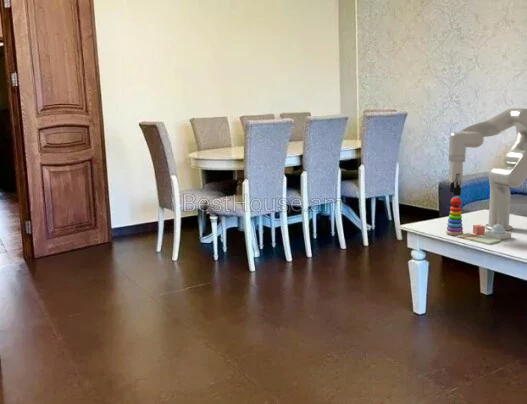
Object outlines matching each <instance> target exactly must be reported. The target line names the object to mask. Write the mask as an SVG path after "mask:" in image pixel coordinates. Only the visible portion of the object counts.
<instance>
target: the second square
mask: <svg viewBox="0 0 527 404" xmlns="http://www.w3.org/2000/svg"><path fill="white" fill-rule="evenodd" d="M501 241H502V240H498V239H493V238H489V237H481V238H477V239H473V241H472V242H475V243H480V244H484V245H489V246H490V245H493V244H497V243H501Z"/></svg>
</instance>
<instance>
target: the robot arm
mask: <svg viewBox="0 0 527 404" xmlns="http://www.w3.org/2000/svg"><path fill="white" fill-rule="evenodd" d="M512 127H515V131H516V139H515V141H514V143H513V144H512V146H511V147H510V148H509V149H508V151H507V152H506V153H505V155H504V157H503V159H502V160H503V161H502V162H503V164H504V165H496V166H494V167H492V168H491V169H490V170H489V173H488V182H489V211H488V223H486V224H485V225H484V226H485V229H487V230H489V231H490V230H491V228H493V226H494V225H495V224H500V225H502V226H503V229H505V231H507V232H508V231H511V230H513V225H511V224H510V214H511V212H510V209H511V190H510V189H511V188H514V189H515V188H519V187H520V186H522V185H523V183H524V182H525V181H526V180H527V108H523V107H522V108H519V107H517V108H514V107H513V108H509V109H506V110H504V111H502V112H500V113H498V114H496V115H495V116H493V117H490V118H489V119H485V120H483V121H480V122H477V123H475V124H472V125H469V126H467V127H465V128H463V129H462V130H459V132H451V133H450V134H449V143H448V144H449V145H448V146H449V147H448V162H449V169H448V181H449V182H450V187H449V192H450V193H453V197H459V196H461V195H462V182H463V176H464V175H463V174H464V173H463V172H464V169H463V167H464V166H463V165H464V163H466V153H467V148H472V149H473V148H475V149H476V148H479V147H480V146H482V145H484V141H485V139H484V138H486V137H488V138H489V137H495V136H497V135H500V134H502V133H503V132H505V131H507V130H509V129H511V128H512Z"/></svg>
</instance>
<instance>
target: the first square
mask: <svg viewBox="0 0 527 404" xmlns="http://www.w3.org/2000/svg"><path fill="white" fill-rule="evenodd" d="M481 237H484V235H476V234H474V233H470V232H466V233H463V234H462V235H458V236H456V239H457V238H459V239H462V240H468V241H470V242H471V241H472V242H474V241H473V239H477V238H481Z"/></svg>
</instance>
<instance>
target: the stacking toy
mask: <svg viewBox="0 0 527 404" xmlns="http://www.w3.org/2000/svg"><path fill="white" fill-rule="evenodd" d="M450 204H451V206H449V207H450V208H449V209H450V211H449V215H448V219H447V226H446V230H445V234H447V235H448V236H452V237H454V236H455V237H457V236H458V235H462V234H464V231H463V230H464V226H463V223H462V222H463V219H462V218H463V216H462V213H463V212H462V207H461V205H462V199H461V197H459V196H453V197H452V198H451V199H450Z"/></svg>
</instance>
